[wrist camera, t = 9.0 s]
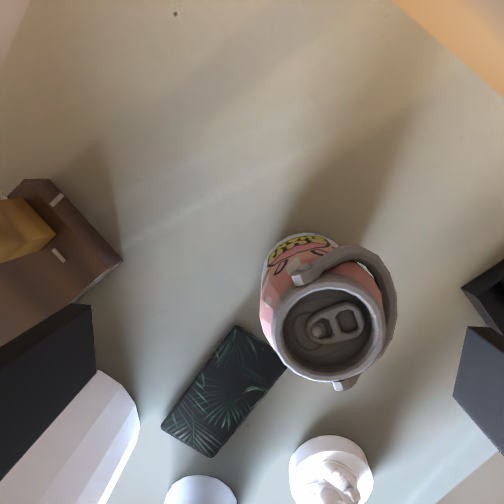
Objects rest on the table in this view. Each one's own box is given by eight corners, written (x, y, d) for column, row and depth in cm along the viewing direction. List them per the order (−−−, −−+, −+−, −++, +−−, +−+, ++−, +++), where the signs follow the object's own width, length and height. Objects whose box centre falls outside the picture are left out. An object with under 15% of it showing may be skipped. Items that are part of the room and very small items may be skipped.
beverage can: (343, 211, 28) (397, 233, 16) (370, 293, 30) (437, 367, 18) (248, 247, 29) (236, 292, 18) (279, 324, 31) (287, 412, 19)
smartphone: (158, 429, 33) (234, 325, 30) (161, 422, 34) (235, 320, 31) (212, 461, 34) (293, 363, 30) (213, 453, 35) (292, 357, 31)
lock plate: (51, 157, 28) (25, 154, 25) (135, 250, 30) (119, 258, 27) (-51, 260, 31) (-86, 269, 28) (30, 340, 33) (5, 357, 30)
